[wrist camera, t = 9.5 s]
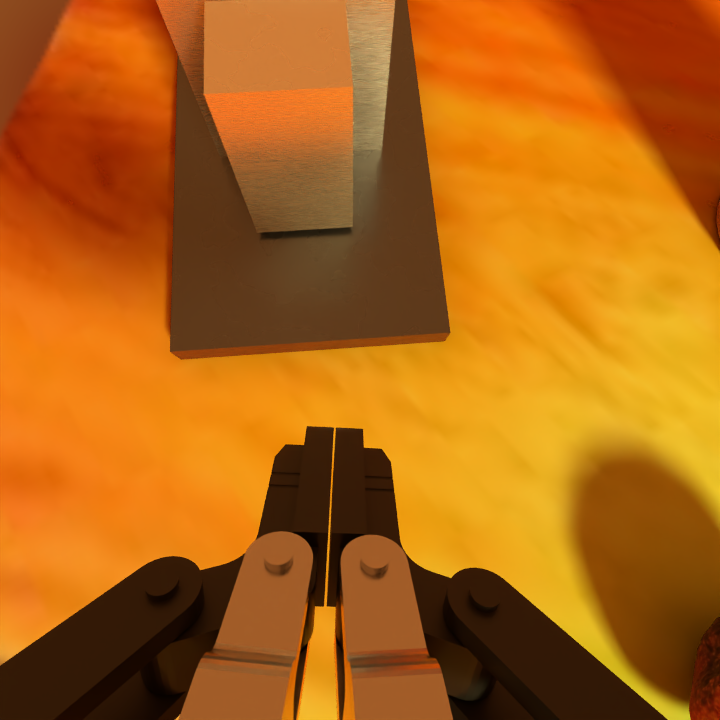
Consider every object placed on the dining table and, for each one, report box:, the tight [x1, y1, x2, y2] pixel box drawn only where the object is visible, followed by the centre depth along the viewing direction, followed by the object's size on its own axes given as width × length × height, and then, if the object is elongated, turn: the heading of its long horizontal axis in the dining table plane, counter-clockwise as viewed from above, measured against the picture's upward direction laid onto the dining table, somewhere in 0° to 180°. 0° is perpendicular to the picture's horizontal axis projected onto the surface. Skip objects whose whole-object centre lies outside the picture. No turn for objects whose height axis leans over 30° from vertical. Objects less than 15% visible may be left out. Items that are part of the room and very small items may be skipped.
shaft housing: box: [156, 0, 450, 359], centre depth 22 cm, size 14×26×12 cm, turn 4°
